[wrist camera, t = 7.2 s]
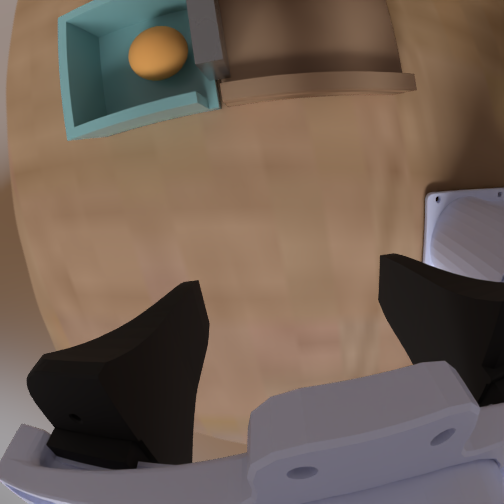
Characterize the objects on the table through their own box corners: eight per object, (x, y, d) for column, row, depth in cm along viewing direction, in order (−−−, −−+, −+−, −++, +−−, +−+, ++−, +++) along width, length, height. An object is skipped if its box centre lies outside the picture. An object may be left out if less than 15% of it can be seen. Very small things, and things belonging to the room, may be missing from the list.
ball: (174, 37, 16) (193, 15, 13) (180, 83, 17) (200, 67, 14) (122, 43, 14) (131, 19, 11) (127, 91, 16) (137, 75, 13)
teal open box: (204, 2, 15) (190, -32, 10) (221, 108, 18) (210, 100, 13) (94, 35, 15) (57, 18, 11) (106, 136, 18) (67, 140, 14)
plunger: (219, 4, 13) (208, -29, 9) (230, 77, 15) (223, 59, 11) (198, 8, 13) (183, -24, 9) (209, 81, 15) (195, 64, 11)
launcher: (370, -6, 14) (388, -25, 11) (392, 95, 17) (416, 89, 14) (211, 1, 15) (203, -22, 11) (228, 106, 18) (222, 100, 14)
